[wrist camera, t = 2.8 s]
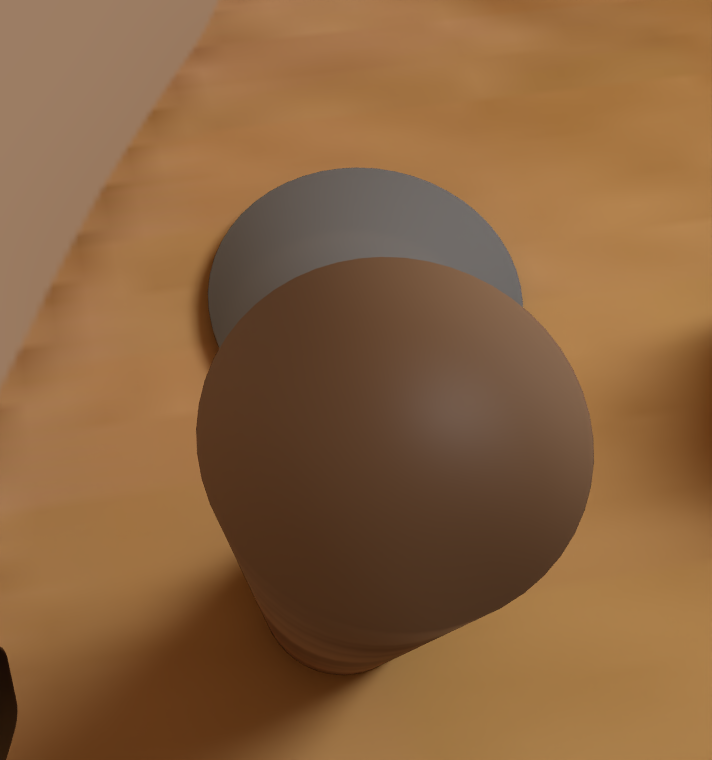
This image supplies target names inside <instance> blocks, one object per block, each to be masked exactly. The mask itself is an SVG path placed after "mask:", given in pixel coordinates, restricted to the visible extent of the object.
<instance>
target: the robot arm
mask: <svg viewBox="0 0 712 760" xmlns="http://www.w3.org/2000/svg"><path fill="white" fill-rule="evenodd" d="M16 721H17V701H16V696H15V692H14V687H13V682H12V677H11V673H10V668H9V663H8V658H7V655H6V652H5V651H4V649H3V648H2V647H0V760H6V758H7V755H8V752H9V748H10V745H11V741H12V738H13V734H14V731H15V727H16Z"/></svg>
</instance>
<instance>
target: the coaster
mask: <svg viewBox="0 0 712 760" xmlns="http://www.w3.org/2000/svg"><path fill="white" fill-rule="evenodd" d="M372 257H399V258H410V259H417V260H423V261H429V262H433V263H437V264H440V265H444V266H448V267H451V268H454V269H457V270H459V271H462V272H465V273H467V274H470V275H472V276H474V277H476V278H478V279H480V280H482V281H484V282H486V283H488V284H490V285H492V286H494V287H495V288H497V289H498V290H500V291H501V292H503V293H504V294H506V295H507V296H509V297H510V298H512V299H513V300H514V301H516V302H517V303H518V304H519V305H520V306H522V307H523V301H522V293H521V286H520V282H519V278H518V275H517V271H516V268H515V266H514V264H513V261H512V259H511V257H510V254H509V252H508V251H507V249H506V247H505V246H504V244H503V242H502V241H501V239H500V238H499V236H498V235H497V234H496V232H495V231H494V230H493V229H492V227H491V226H490V225H489V224H488V223H487V222H486V221H485V220H484V219H483V218H482V217H481V216H480V215H479V214H478V213H477V212H476V211H475V210H474V209H472V208H471V207H470V206H469V205H467V204H466V203H465V202H464V201H462V200H461V199H459V198H458V197H456V196H454V195H453V194H451V193H450V192H448V191H446V190H444V189H442V188H440V187H438V186H436V185H434V184H432V183H430V182H427V181H425V180H422V179H419V178H417V177H414V176H411V175H407V174H403V173H399V172H395V171H388V170H382V169H374V168H342V169H334V170H327V171H321V172H317V173H313V174H310V175H306V176H302V177H300V178H297V179H295V180H292V181H290V182H287V183H285V184H283V185H281V186H279V187H277V188H275V189H273V190H272V191H270V192H268V193H267V194H265V195H264V196H263V197H261V198H260V199H258V200H257V201H255V202H254V203H253V204H252V205H251V206H250V207H249V208H248V209H246V210H245V211H244V212H243V213H242V214H241V215H240V217H239V218H238V219H237V220H236V221H235V222H234V224H233V225H232V226H231V227H230V229H229V230H228V232H227V234H226V235H225V237H224V238H223V240H222V242H221V244H220V246H219V248H218V251H217V253H216V255H215V258H214V261H213V265H212V269H211V272H210V278H209V288H208V303H209V313H210V318H211V323H212V328H213V332H214V336H215V339H216V341H217V344H218V347H219V349H220V347H221V345H222V343H223V342H224V340H225V338H226V337H227V336H228V334H229V333H230V332H231V330H232V329H233V328H234V327H235V325H236V324H237V323H238V321H239V320H240V319H241V318H242V317H243V316H244V315H245V314H246V313H247V312H248V311H249V310H250V309H251V308H252V307H253V306H254V305H255V304H256V303H258V302H259V301H260V300H261V299H263V298H264V297H265V296H267V295H268V294H269V293H271V292H272V291H273V290H275V289H276V288H278V287H280V286H281V285H283V284H285V283H286V282H288V281H290V280H292V279H293V278H295V277H298V276H300V275H302V274H305V273H307V272H309V271H311V270H314V269H317V268H320V267H323V266H327V265H330V264H333V263H337V262H342V261H347V260H353V259H358V258H372Z"/></svg>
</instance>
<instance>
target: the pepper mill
mask: <svg viewBox="0 0 712 760" xmlns="http://www.w3.org/2000/svg"><path fill="white" fill-rule="evenodd" d="M196 434H197V455H198V461H199V466H200V472H201V477H202V481H203V484H204V487H205V490H206V493H207V496H208V499H209V502H210V505H211V507H212V509H213V511H214V513H215V515H216V518H217V520H218V522H219V524H220V526H221V528H222V530H223V532H224V534H225V536H226V538H227V540H228V543H229V545H230V547H231V549H232V551H233V553H234V555H235V557H236V559H237V561H238V563H239V566H240V568H241V570H242V572H243V574H244V576H245V578H246V580H247V582H248V584H249V586H250V588H251V591H252V593H253V595H254V597H255V599H256V601H257V603H258V605H259V607H260V609H261V611H262V614H263V616H264V618H265V620H266V622H267V624H268V626H269V628H270V630H271V632H272V634H273V635H274V637H275V638H276V640H277V641H278V643H279V644H280V645H281V646H282V647H283V649H284V650H285V651H286V652H287V653H288V654H290V655H291V656H292V657H293V658H294V659H296V660H297V661H299V662H300V663H302V664H304V665H305V666H308V667H310V668H312V669H314V670H317V671H320V672H324V673H329V674H336V675H349V674H356V673H361V672H365V671H368V670H371V669H373V668H375V667H378V666H380V665H382V664H384V663H386V662H388V661H390V660H392V659H395V658H397V657H399V656H401V655H403V654H405V653H407V652H409V651H411V650H414V649H416V648H418V647H420V646H422V645H424V644H426V643H428V642H430V641H433V640H435V639H437V638H439V637H441V636H443V635H445V634H447V633H449V632H451V631H454V630H456V629H458V628H460V627H462V626H464V625H466V624H468V623H470V622H473V621H475V620H477V619H479V618H481V617H483V616H485V615H487V614H489V613H491V612H494V611H496V610H498V609H500V608H502V607H503V606H505V605H506V604H508V603H510V602H511V601H513V600H514V599H516V598H517V597H519V596H520V595H522V594H524V593H525V592H526V591H527V590H528V589H529V588H530V587H532V586H533V585H534V584H535V583H536V582H537V581H538V580H540V579H541V578H542V577H543V576H544V575H545V574H546V573H547V572H548V570H549V569H550V568H551V567H552V566H553V564H554V563H555V562H556V561H557V560H558V559H559V557H560V556H561V555H562V553H563V552H564V550H565V548H566V547H567V545H568V544H569V542H570V540H571V539H572V537H573V535H574V534H575V532H576V529H577V527H578V525H579V522H580V520H581V518H582V515H583V513H584V511H585V507H586V503H587V499H588V496H589V492H590V488H591V481H592V473H593V464H594V450H593V433H592V427H591V421H590V415H589V411H588V408H587V404H586V401H585V397H584V394H583V391H582V389H581V386H580V384H579V382H578V380H577V377H576V375H575V373H574V370H573V368H572V367H571V365H570V363H569V362H568V360H567V358H566V357H565V355H564V353H563V352H562V350H561V348H560V347H559V346H558V345H557V343H556V342H555V341H554V339H553V338H552V337H551V335H550V334H549V333H548V332H547V330H546V329H545V328H544V327H543V326H542V325H541V324H540V323H539V322H538V321H537V320H536V319H535V318H534V317H533V316H532V315H531V314H530V313H529V312H528V311H527V310H525V309H524V308H523V307H522V306H520V305H519V304H518V303H517V302H516V301H514V300H513V299H512V298H510V297H509V296H507V295H506V294H504V293H503V292H501V291H500V290H498V289H497V288H495V287H494V286H492V285H490V284H488V283H486V282H484V281H482V280H480V279H478V278H476V277H474V276H472V275H470V274H467V273H465V272H462V271H459V270H457V269H454V268H451V267H448V266H444V265H440V264H437V263H433V262H429V261H423V260H417V259H410V258H399V257H372V258H358V259H353V260H347V261H342V262H337V263H333V264H330V265H327V266H323V267H320V268H317V269H314V270H311V271H309V272H307V273H305V274H302V275H300V276H298V277H295V278H293V279H292V280H290V281H288V282H286V283H285V284H283V285H281V286H280V287H278V288H276V289H275V290H273V291H272V292H271V293H269V294H268V295H267V296H265V297H264V298H263V299H261V300H260V301H259V302H258V303H256V304H255V305H254V306H253V307H252V308H251V309H250V310H249V311H248V312H247V313H246V314H245V315H244V316H243V317H242V318H241V319H240V320H239V321H238V323H237V324H236V325H235V327H234V328H233V329H232V330H231V332H230V333H229V334H228V336H227V337H226V338H225V340H224V342H223V343H222V345H221V347H220V349H219V350H218V352H217V354H216V356H215V357H214V359H213V362H212V364H211V367H210V369H209V371H208V374H207V376H206V379H205V382H204V386H203V390H202V394H201V398H200V402H199V408H198V417H197V427H196Z"/></svg>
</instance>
